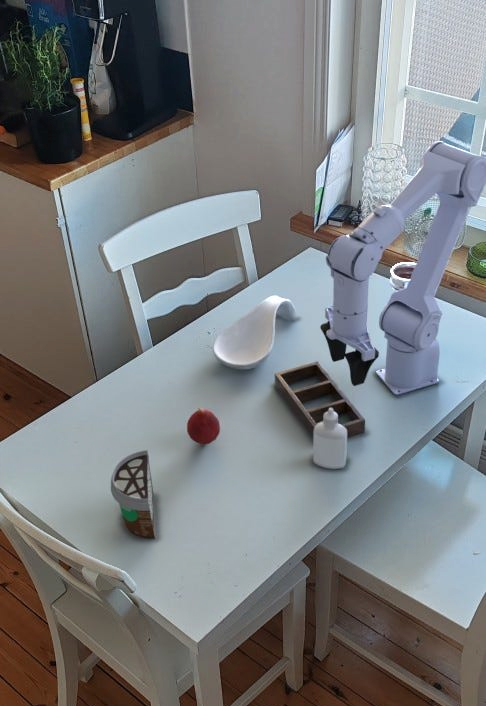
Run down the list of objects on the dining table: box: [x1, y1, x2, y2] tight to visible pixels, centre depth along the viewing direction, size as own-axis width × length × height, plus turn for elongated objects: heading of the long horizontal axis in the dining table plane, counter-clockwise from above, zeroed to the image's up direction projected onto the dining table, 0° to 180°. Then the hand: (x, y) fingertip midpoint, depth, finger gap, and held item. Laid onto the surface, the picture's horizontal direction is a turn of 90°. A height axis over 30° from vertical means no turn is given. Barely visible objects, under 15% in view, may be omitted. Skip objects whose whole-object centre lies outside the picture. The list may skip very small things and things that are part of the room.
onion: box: [186, 407, 221, 445], centre depth 163 cm, size 6×6×8 cm
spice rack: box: [274, 360, 366, 439], centre depth 170 cm, size 9×19×3 cm, turn 22°
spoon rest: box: [212, 295, 298, 370], centre depth 184 cm, size 24×12×7 cm, turn 150°
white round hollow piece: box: [389, 262, 416, 292], centre depth 186 cm, size 7×7×12 cm
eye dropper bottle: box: [312, 408, 348, 470], centre depth 156 cm, size 4×6×12 cm
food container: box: [110, 449, 156, 540], centre depth 149 cm, size 12×6×10 cm, turn 5°
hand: (347, 371), depth 162 cm, fingers open, 7 cm apart
